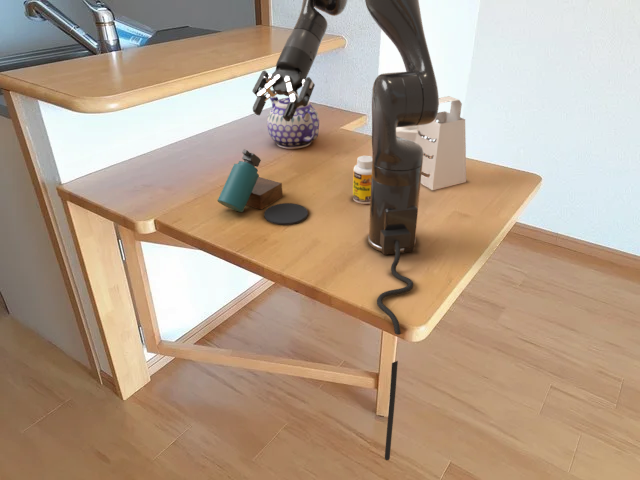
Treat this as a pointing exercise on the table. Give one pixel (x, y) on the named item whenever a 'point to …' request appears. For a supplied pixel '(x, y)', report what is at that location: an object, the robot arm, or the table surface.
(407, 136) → the white milk carton
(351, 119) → the table surface
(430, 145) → the grater
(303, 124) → the teapot
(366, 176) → the supplement bottle
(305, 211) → the coaster
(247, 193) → the spray bottle
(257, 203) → the walnut block
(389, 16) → the robot arm
